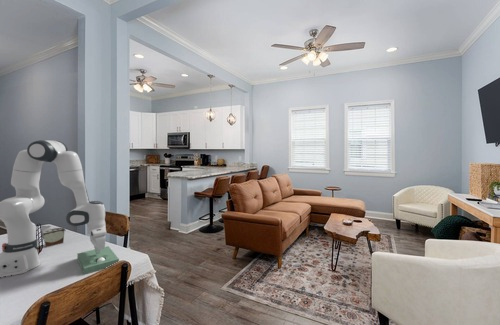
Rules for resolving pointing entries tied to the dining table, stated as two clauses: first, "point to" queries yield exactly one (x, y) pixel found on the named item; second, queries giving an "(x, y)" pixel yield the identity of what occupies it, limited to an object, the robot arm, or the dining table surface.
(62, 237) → the food container
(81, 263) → the putting board
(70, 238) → the dining table surface
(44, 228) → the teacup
